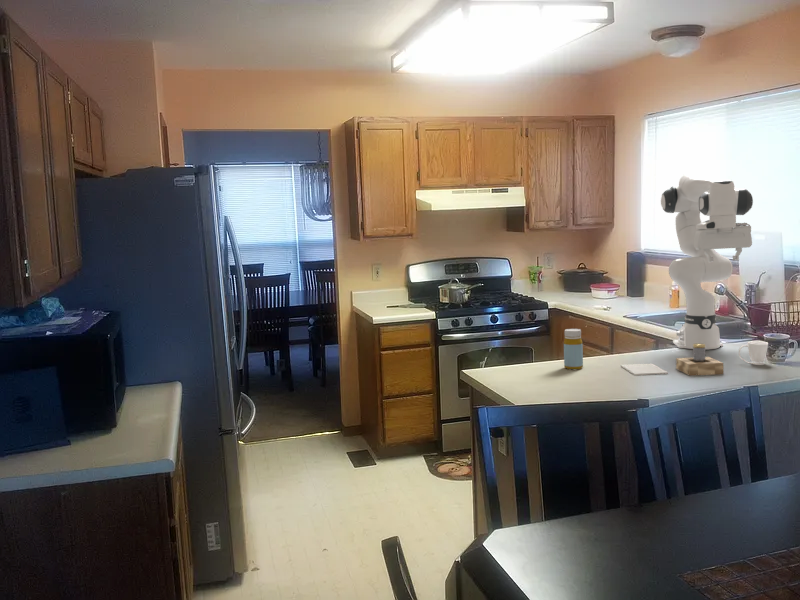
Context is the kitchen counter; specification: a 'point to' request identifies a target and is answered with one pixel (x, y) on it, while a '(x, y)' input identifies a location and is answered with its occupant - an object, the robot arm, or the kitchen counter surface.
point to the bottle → (573, 349)
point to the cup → (756, 351)
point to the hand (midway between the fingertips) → (723, 261)
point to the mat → (644, 369)
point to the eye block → (699, 366)
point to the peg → (698, 352)
